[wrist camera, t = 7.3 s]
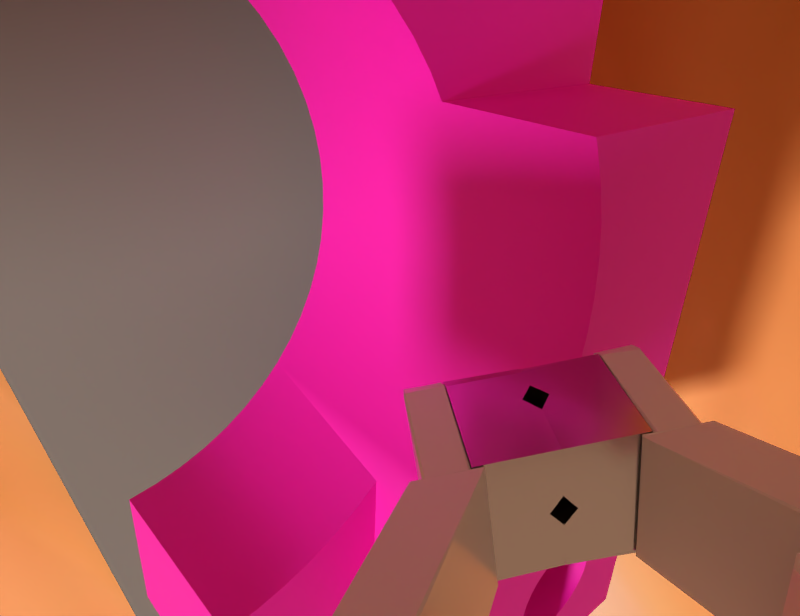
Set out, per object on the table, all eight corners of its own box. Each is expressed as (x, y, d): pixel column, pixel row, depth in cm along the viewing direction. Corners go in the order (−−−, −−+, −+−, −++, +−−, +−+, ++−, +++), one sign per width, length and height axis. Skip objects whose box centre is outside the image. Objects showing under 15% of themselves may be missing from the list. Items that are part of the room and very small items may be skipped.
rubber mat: (141, 614, 21) (139, 622, 21) (-446, -472, 9) (-468, -486, 9) (465, 550, 21) (467, 558, 21) (306, -582, 9) (306, -596, 9)
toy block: (605, 599, 14) (321, 871, 10) (411, 452, 18) (147, 596, 14) (845, -313, 8) (279, -790, 3) (453, -225, 12) (-37, -372, 7)
